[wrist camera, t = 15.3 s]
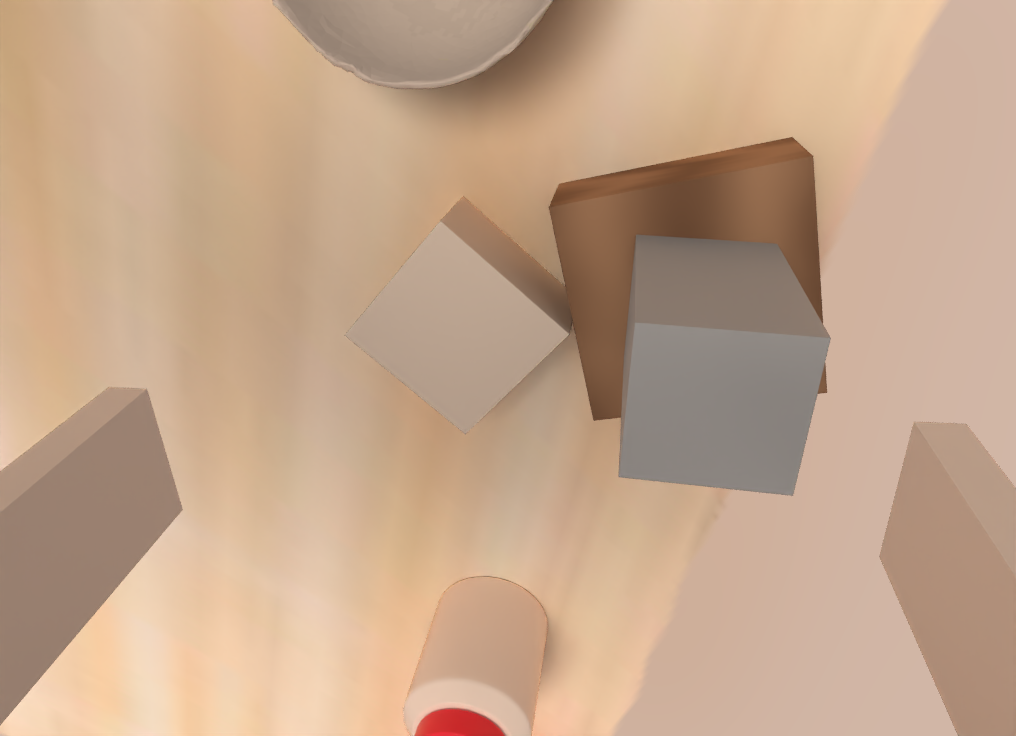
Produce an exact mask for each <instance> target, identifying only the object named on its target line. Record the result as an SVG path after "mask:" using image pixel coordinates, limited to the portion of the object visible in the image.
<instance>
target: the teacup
mask: <svg viewBox="0 0 1016 736" xmlns="http://www.w3.org/2000/svg"><path fill="white" fill-rule="evenodd" d="M552 2H553V0H273V5H274V6H275V7H277V8H278V9H279V10H280V12H281V13H282V14H283V15H284V16H285V17H286V18H287V19H288V20H289V21H290V22H291V24H292V25H293V26H294V27H295V28H296V29H297V30H298V31H299V32H300V33H301V34H302V36H303V37H304V38H305V39H306V40H307V41H308V42H309V43H311V44H312V45H313V47H314V48H315V49H316V51H317V52H319V53H321V54H322V55H323V56H324V57H325V58H326V59H327V60H328V61H330V62H331V63H332V64H333V65H334V66H337V67H341V68H342V69H344V70H346V71H347V72H348V71H350V72H352V73H354V74H355V75H356V76H357V77H359V78H360V79H362V80H363V81H366V82H368V83H372V84H375V85H379V86H385V87H390V88H397V89H426V88H439V87H444V86H448V85H452V84H456V83H459V82H461V81H464V80H466V79H469V78H472V77H474V76H477V75H479V74H480V73H482V72H484V71H485V70H487V69H489V68H490V67H492V66H493V65H495V64H496V63H497V62H499V61H500V60H501V59H503V58H504V57H505V56H507V55H508V54H509V53H511V52H512V51H513V50H514V49H515V48H516V47H517V46H518V45H519V44H520V43H521V42H522V41H524V40H525V39H526V38H527V36H528V35H529V34H530V33H531V32H532V30H533V29H534V28H535V27H536V25H537V24H538V23H539V22H540V20H541V19H542V17H543V16H544V14H545V13H546V11H547V10H548V8H549V7H550V5H551V3H552Z"/></svg>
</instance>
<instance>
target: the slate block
mask: <svg viewBox="0 0 1016 736" xmlns="http://www.w3.org/2000/svg"><path fill="white" fill-rule="evenodd" d="M829 343H830V336H829V334H828V333H827V331H826V329H825V327H824V325H823V324H822V322H821V320H820V318H819V317H818V315H817V313H816V311H815V310H814V308H813V306H812V304H811V302H810V301H809V299H808V297H807V295H806V294H805V292H804V290H803V288H802V287H801V285H800V283H799V281H798V280H797V278H796V276H795V274H794V272H793V271H792V269H791V267H790V265H789V264H788V262H787V260H786V258H785V257H784V255H783V253H782V251H781V250H780V248H779V246H778V244H774V243H759V242H743V241H727V240H712V239H696V238H680V237H665V236H649V235H636V242H635V251H634V261H633V271H632V281H631V291H630V301H629V311H628V321H627V331H626V341H625V351H624V365H623V388H622V411H621V435H620V458H619V477H623V478H632V479H641V480H650V481H660V482H669V483H678V484H688V485H697V486H706V487H716V488H725V489H734V490H744V491H753V492H762V493H772V494H781V495H791V496H793V494H794V490H795V485H796V481H797V477H798V473H799V469H800V465H801V460H802V456H803V452H804V447H805V443H806V439H807V435H808V431H809V427H810V423H811V418H812V414H813V410H814V406H815V401H816V397H817V393H818V389H819V385H820V381H821V377H822V372H823V368H824V364H825V360H826V356H827V351H828V347H829Z"/></svg>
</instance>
